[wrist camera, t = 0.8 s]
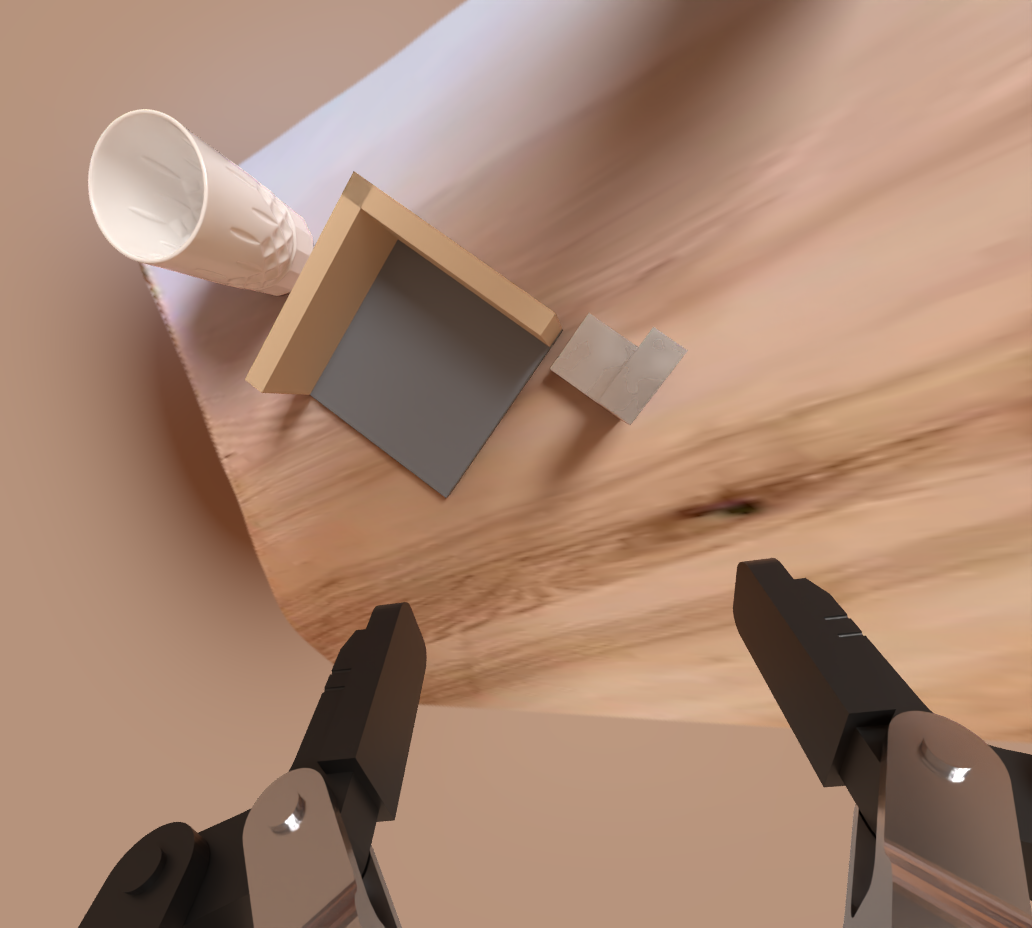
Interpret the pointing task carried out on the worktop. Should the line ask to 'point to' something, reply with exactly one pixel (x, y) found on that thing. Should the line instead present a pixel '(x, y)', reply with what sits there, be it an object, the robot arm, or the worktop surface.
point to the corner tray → (405, 336)
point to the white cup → (192, 207)
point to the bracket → (617, 366)
